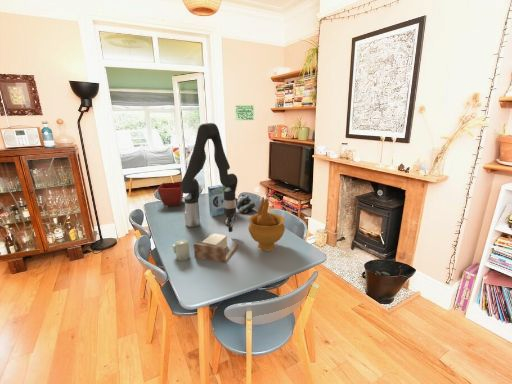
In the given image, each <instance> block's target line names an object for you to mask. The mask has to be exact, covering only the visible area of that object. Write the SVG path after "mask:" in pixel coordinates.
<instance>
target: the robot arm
mask: <svg viewBox="0 0 512 384" xmlns="http://www.w3.org/2000/svg"><path fill="white" fill-rule="evenodd" d="M208 140H211V141H212V143H213V148H214V150H213V152H214V155H213V156H214V163H215V165H216V167H217V170H218V174H219V181H220V183H221V184H220V185H223V186H224V187H227V189H226V190H225V191H224V214H223V215H225V219H226V220H225V221H223V222H224V225H225V226H226V227H228V230H227V231H228V232H229V233H232V232H233V230H234V229H233V228H234V227H233V226H234V224H235V222H236V221H235V220H236V217H237V215H236V213H237V208H236V200H235V199H236V190H237V186H238V181H239V180H238V176H237V175H236V174H235V173H228V172H229V170H230V169H231V167H230V163H229V161H228V158H227V156H226V153H225V150H224V146H223V143H222V142H223V141H222V138H221V134H220V131H219V128H218V125H217V124H216V123H213V122H207V123H201V124H200V125H199V126H198V129H197V133H196V137H195V143H194V146H193V150H192V153H191V155H190V159H189V162H188V164H187V165H188V166H187V169H186V171H185V173H184V175H183V178H182V180H181V191H182V192H183V194H185V195H186V196H185V197H184V207H185V212H184V221H185V226H186V227H189V228H195V227H198V226H200V225H201V221H200V220H201V218H200V207H199V206H200V205H199V198H200V185H199V181H198V180H197V178H195V177H196V176H197V175H198V174H199V173H200V172H201V170H202V169H204V167H205V164H206V159H207V155H206V149H205V148H206V144H207V142H208Z"/></svg>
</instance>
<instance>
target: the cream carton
mask: <svg viewBox="0 0 512 384" xmlns="http://www.w3.org/2000/svg"><path fill="white" fill-rule="evenodd" d="M201 244H206V245H212V246H218V247H224V248H225V249H226V248H227V247H228V237H227V235H225V234H221V233H220V234H219V233H211V234H210V235H209V236H207V238H205V239H204V240H203V241H201Z"/></svg>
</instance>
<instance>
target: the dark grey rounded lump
mask: <svg viewBox="0 0 512 384" xmlns="http://www.w3.org/2000/svg"><path fill="white" fill-rule="evenodd" d="M235 200H236V210H238V212H239V213H240V214H241V215H243V214H245V213H248V212H249V211H252V209H254V208H255V207H256V204H255V203H254V202H253V201H252V200H251V198H250V197H249V195H246V196H245V195H244V194H242V195H241V196H240V197H238V198H235Z"/></svg>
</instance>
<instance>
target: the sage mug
mask: <svg viewBox="0 0 512 384" xmlns="http://www.w3.org/2000/svg"><path fill="white" fill-rule="evenodd" d="M172 249H173V254H175V256H176V260H177V261H180V262H183V261H186V260H188V259H190V258H191V253H190V243H189V240H188V239H179V240H176V241H175V242H174V244H173V245H172Z"/></svg>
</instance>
